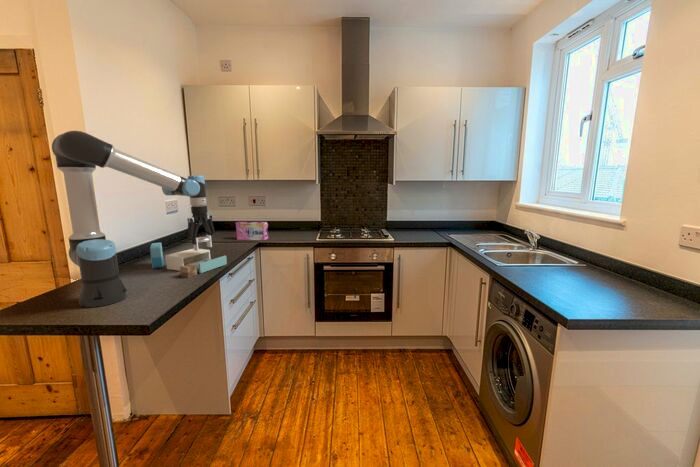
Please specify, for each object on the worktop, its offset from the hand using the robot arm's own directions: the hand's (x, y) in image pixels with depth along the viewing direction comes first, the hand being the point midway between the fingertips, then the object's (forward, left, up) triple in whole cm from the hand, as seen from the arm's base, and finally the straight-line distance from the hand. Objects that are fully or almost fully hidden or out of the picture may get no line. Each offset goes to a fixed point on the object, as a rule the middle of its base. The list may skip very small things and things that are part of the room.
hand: (203, 248), depth 164 cm
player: (0, +11, -11) cm, 15 cm away
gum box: (+72, +28, -11) cm, 78 cm away
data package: (-11, +22, -5) cm, 25 cm away
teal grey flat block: (0, -1, -10) cm, 10 cm away
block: (-13, -4, -11) cm, 17 cm away
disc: (0, 0, +4) cm, 4 cm away
